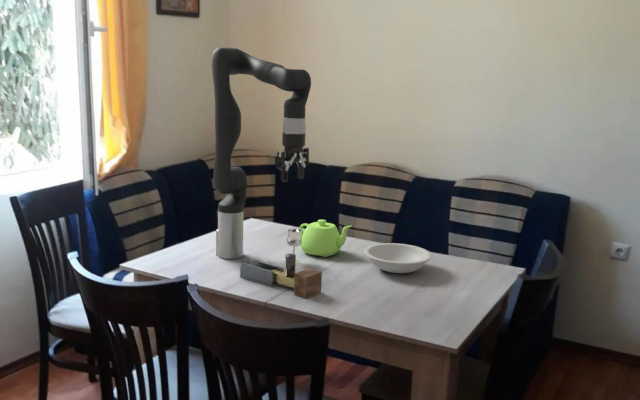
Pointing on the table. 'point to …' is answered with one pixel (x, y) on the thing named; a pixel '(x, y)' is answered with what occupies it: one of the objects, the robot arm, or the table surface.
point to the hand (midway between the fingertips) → (292, 180)
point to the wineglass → (294, 239)
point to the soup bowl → (397, 257)
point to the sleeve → (259, 272)
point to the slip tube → (286, 272)
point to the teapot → (322, 238)
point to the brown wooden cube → (307, 283)
